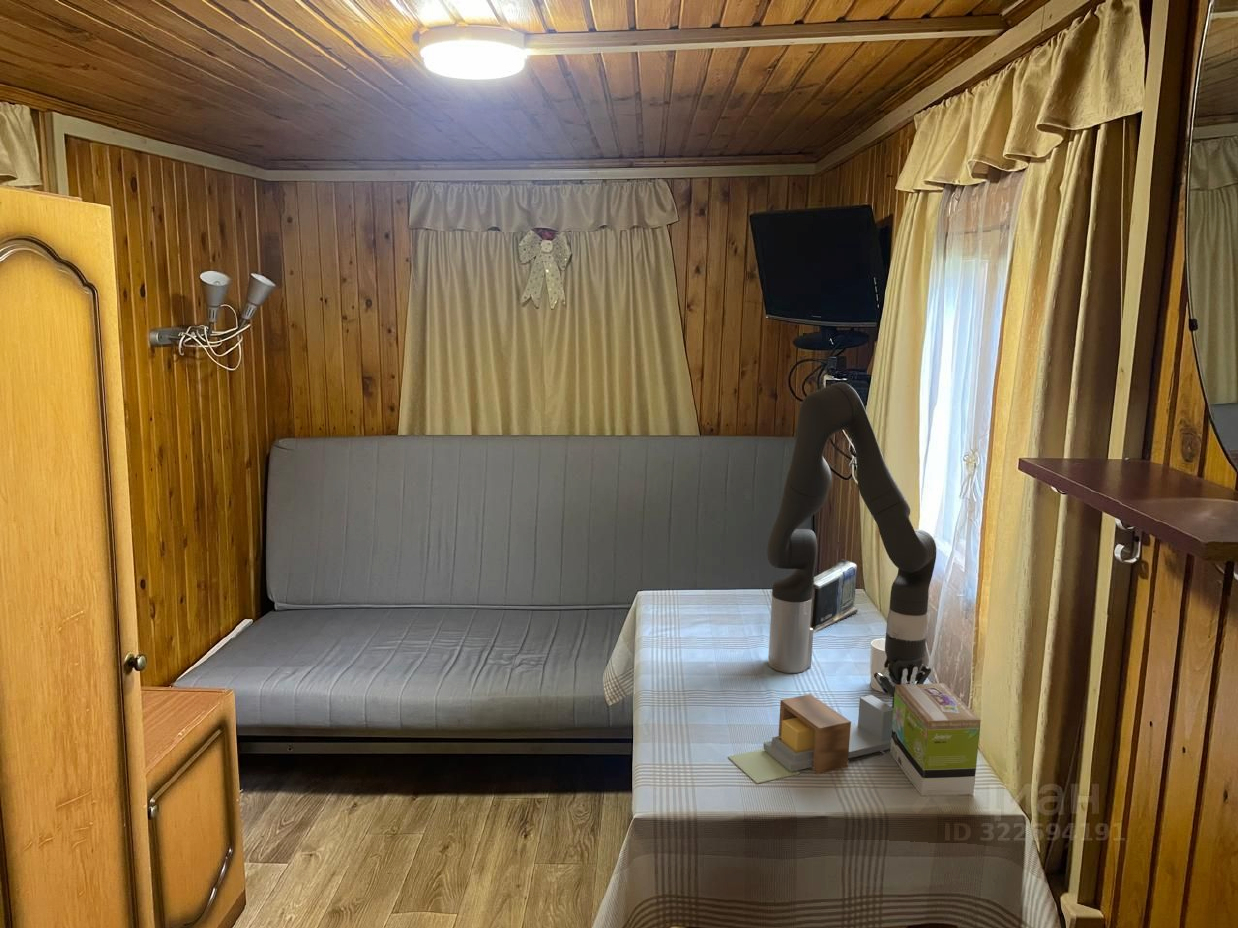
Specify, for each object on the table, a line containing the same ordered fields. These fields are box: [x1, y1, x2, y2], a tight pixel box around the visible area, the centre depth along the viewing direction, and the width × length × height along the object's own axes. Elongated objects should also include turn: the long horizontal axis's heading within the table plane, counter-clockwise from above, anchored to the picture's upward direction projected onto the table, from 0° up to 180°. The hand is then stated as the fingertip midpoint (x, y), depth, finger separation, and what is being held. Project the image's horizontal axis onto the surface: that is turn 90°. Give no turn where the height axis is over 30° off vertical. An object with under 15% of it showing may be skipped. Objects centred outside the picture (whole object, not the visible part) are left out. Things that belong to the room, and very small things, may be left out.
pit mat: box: [848, 751, 885, 763], centre depth 172 cm, size 8×10×1 cm
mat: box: [727, 748, 800, 785], centre depth 164 cm, size 9×10×1 cm
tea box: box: [889, 682, 982, 797], centre depth 161 cm, size 15×10×15 cm, turn 5°
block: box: [781, 717, 815, 753], centre depth 167 cm, size 5×5×5 cm
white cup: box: [869, 638, 890, 693], centre depth 198 cm, size 8×8×10 cm
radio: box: [810, 558, 858, 634], centre depth 240 cm, size 23×9×15 cm, turn 130°
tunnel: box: [778, 694, 852, 775], centre depth 168 cm, size 7×12×9 cm, turn 24°
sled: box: [762, 694, 893, 772], centre depth 170 cm, size 24×9×7 cm, turn 114°
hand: (899, 714), depth 176 cm, fingers closed
